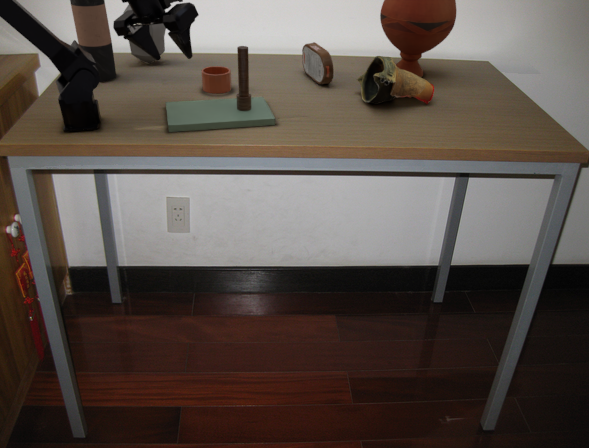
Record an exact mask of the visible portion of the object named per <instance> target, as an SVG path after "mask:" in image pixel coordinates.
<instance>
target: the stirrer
mask: <svg viewBox="0 0 589 448" xmlns="http://www.w3.org/2000/svg"><path fill="white" fill-rule="evenodd" d="M249 63H250V62H249V47H248V46H246V45H245V46H244V45H238V46H237V81H238V83H237V84H238V85H237V86H238V93H237V94H236V97H235V98H237V109H238V110H240V111H249V110H251V108H252V104H251V97H252V94H251V93H250V76H249V75H250V72H249V71H250V70H249V69H250V68H249V66H250V65H249Z"/></svg>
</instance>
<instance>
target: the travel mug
mask: <svg viewBox="0 0 589 448" xmlns="http://www.w3.org/2000/svg"><path fill="white" fill-rule="evenodd" d="M69 1H70V6H71V11H72V12H71V13H72V17H73V22H74V28H75V33H76V38H77V43H78V44H79V45H80V47H81V48H82V49H83V50H84V51H86V52H87V53H90V54H91V55H92V57H93V59H94V61H95V63H96V65H95V66H96V68H97V70H98V72H99V74H100V82H99V83H105V82H110V81H113V80H115V79H116V78H117V71H116V63H115V55H114V48H113V41H112V36H111V35H112V34H111V31H110V24H109V18H108V13H107V8H106V7H107V6H106V3H105V0H69Z"/></svg>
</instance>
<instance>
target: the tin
mask: <svg viewBox="0 0 589 448" xmlns="http://www.w3.org/2000/svg"><path fill="white" fill-rule="evenodd" d="M301 50H302V51H301V52H302V62H301V63H302V67H303V70H304V72H305V74H306V75H307V76H308V77H309V78H311V80H313V81H314V82H316V83H317V85H329V84H331V83H332V82H333V78H334V74H335V73H334V72H335V71H334V62H333V59H332V56H331V54H330V51H328V50H327V49H325V48H324V47H323V46H321V45H319V44H318V43H317V42H311V43H306V44H304V45H303V47H302V49H301Z"/></svg>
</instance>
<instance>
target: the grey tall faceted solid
mask: <svg viewBox="0 0 589 448" xmlns="http://www.w3.org/2000/svg"><path fill="white" fill-rule="evenodd" d="M127 10H132V9H131V7H130V5H129V4H127V6H126V8H125V9H124V10H123V13H125V12H126V11H127ZM123 13H122V14H123ZM158 19H159V18H158ZM166 31H167V29H166V28H165V26H164V24H154V25H150V34H151V37H152V39H153V41H154V43H155V45H156V47H157V49H158V51H159V54H160V56H161V55H163V54H164V53H165V51H166V46H165V45H166V44H165V35H166ZM128 44H129V48H130V53H131V55H132V56H133V57H135V58H136V59H137V60H139V61H141V62H142V63H146V64H149V65H151V64H152V63H155V61H156V60H155V59H154V58H153V57H151V56H150V55H149V54H147V53H146V52H145V51H143V50H142V49H141V48H139V47H138V46H136V45H135V44H133V43H132V42H130V41H129V40H128Z"/></svg>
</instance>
